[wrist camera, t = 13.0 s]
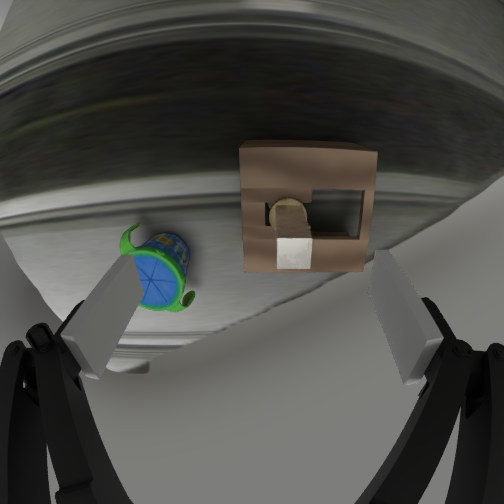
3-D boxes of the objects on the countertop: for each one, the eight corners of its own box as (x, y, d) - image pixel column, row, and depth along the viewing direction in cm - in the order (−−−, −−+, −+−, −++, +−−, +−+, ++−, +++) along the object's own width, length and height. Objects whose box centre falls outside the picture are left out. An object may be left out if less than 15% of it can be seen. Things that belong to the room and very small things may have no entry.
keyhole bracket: (245, 140, 39) (239, 148, 30) (354, 142, 38) (377, 152, 29) (249, 240, 46) (244, 272, 38) (346, 240, 45) (362, 271, 37)
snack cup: (123, 226, 47) (95, 253, 38) (170, 199, 44) (145, 223, 35) (170, 294, 53) (153, 329, 44) (216, 275, 50) (206, 312, 41)
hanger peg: (266, 180, 39) (265, 227, 24) (302, 180, 39) (324, 227, 23) (267, 214, 41) (265, 278, 26) (301, 214, 41) (320, 278, 26)
